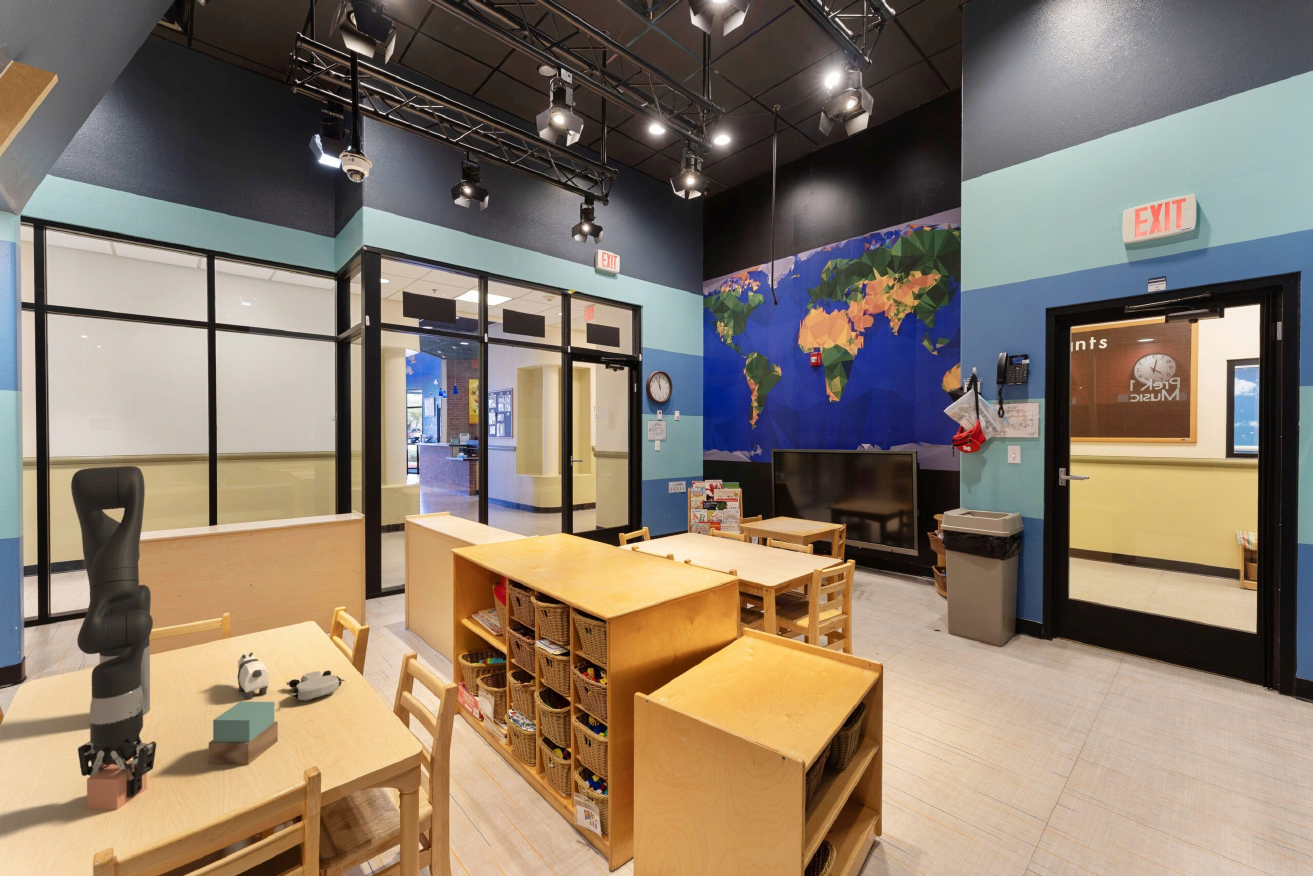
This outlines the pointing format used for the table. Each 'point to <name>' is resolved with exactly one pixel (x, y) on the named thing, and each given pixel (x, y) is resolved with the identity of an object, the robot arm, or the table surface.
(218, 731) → the tower top
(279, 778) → the table surface
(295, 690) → the robot toy
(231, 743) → the tower base
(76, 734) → the table surface
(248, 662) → the giant panda
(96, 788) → the terracotta cube
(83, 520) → the robot arm
